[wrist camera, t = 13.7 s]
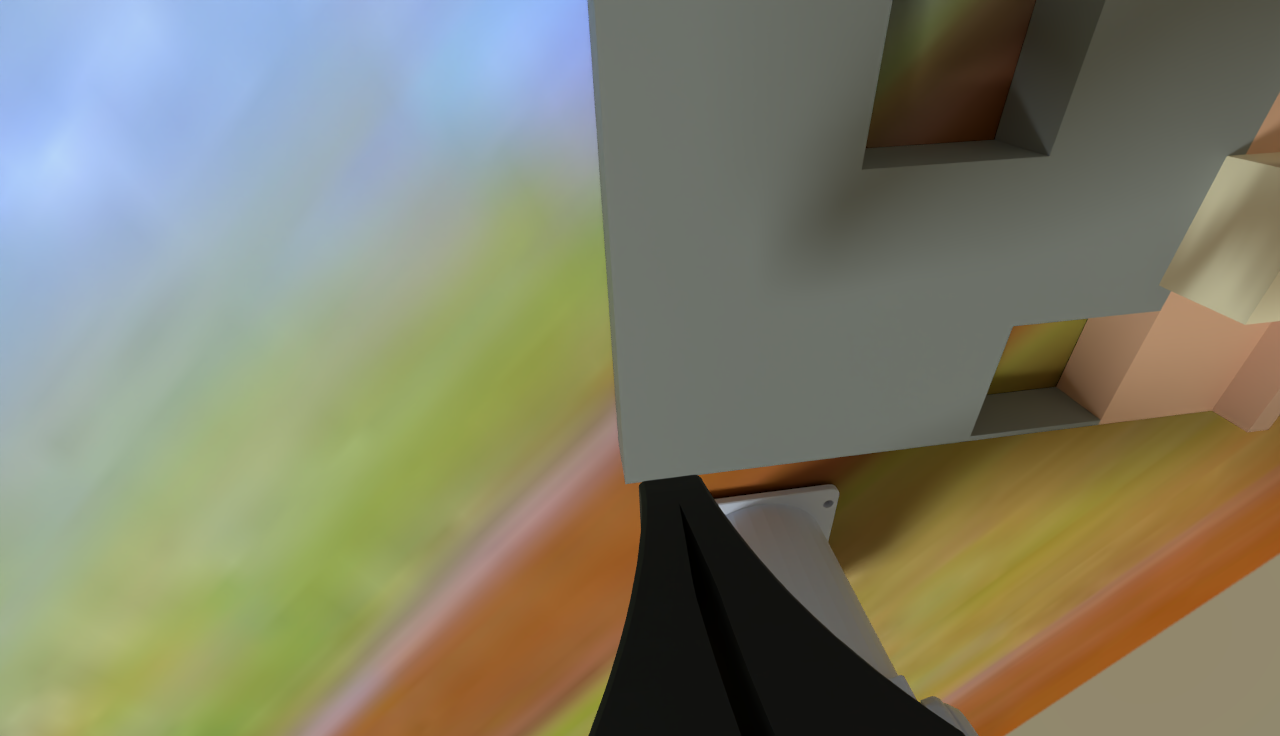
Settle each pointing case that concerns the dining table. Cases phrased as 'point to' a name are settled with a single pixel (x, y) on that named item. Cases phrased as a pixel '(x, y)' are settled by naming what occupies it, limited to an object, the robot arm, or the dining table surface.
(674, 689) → the robot arm
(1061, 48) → the board
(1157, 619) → the dining table surface
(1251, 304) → the beech block
